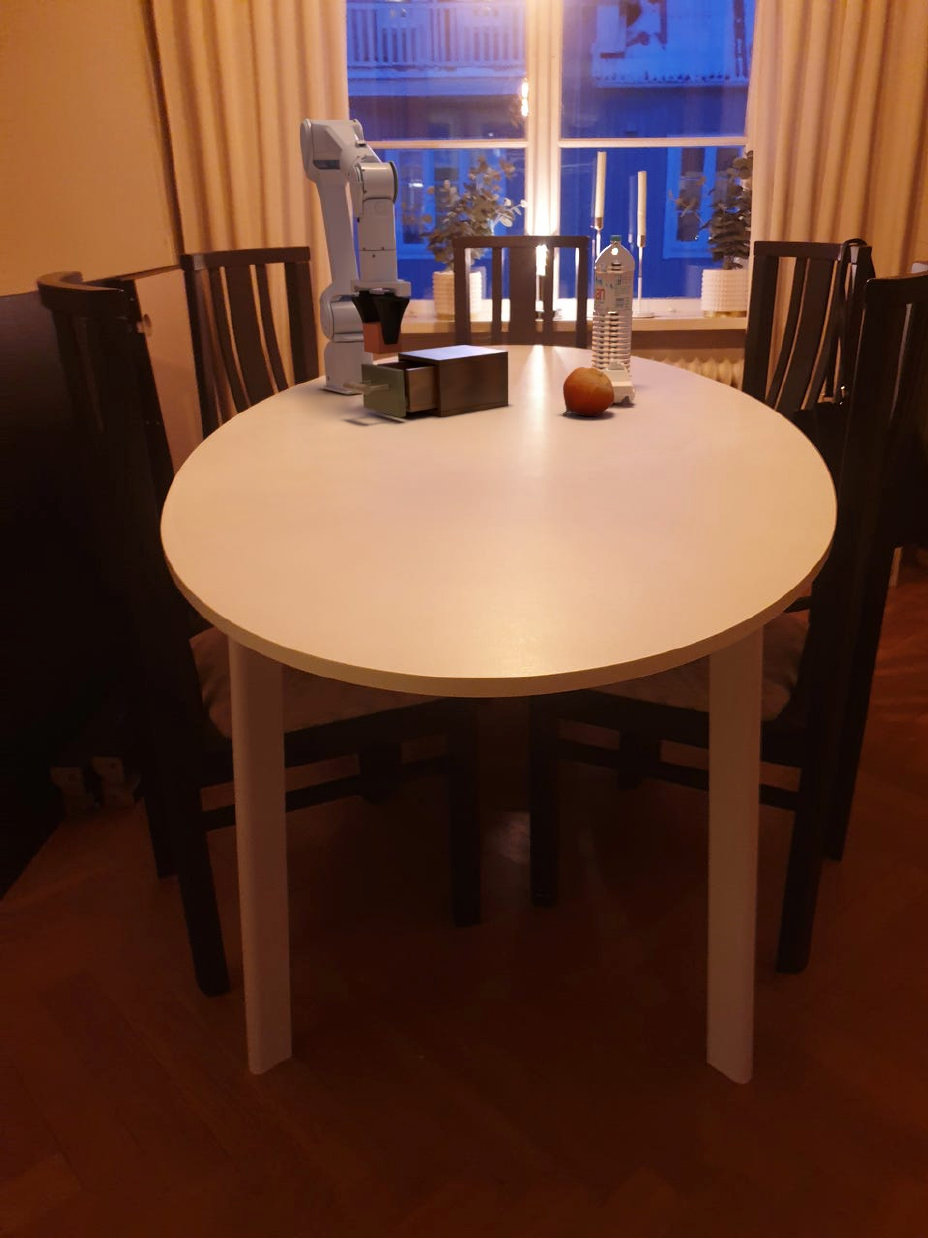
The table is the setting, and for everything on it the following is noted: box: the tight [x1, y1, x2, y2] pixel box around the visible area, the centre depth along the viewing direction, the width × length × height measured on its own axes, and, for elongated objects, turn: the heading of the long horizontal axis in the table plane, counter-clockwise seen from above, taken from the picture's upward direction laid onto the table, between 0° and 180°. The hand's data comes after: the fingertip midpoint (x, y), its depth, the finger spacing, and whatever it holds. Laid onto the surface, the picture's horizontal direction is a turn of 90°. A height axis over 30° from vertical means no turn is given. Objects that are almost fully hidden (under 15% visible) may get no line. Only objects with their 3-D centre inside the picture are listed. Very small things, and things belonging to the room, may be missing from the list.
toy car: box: [604, 359, 636, 404], centre depth 148 cm, size 6×12×7 cm, turn 175°
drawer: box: [343, 360, 438, 418], centre depth 141 cm, size 17×10×7 cm, turn 127°
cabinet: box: [397, 344, 509, 418], centre depth 146 cm, size 14×12×9 cm
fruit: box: [562, 366, 614, 418], centre depth 138 cm, size 8×8×8 cm
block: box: [363, 322, 403, 355], centre depth 143 cm, size 4×4×4 cm
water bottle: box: [590, 234, 636, 375], centre depth 156 cm, size 7×7×25 cm
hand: (382, 342), depth 143 cm, fingers closed on block, 4 cm apart
